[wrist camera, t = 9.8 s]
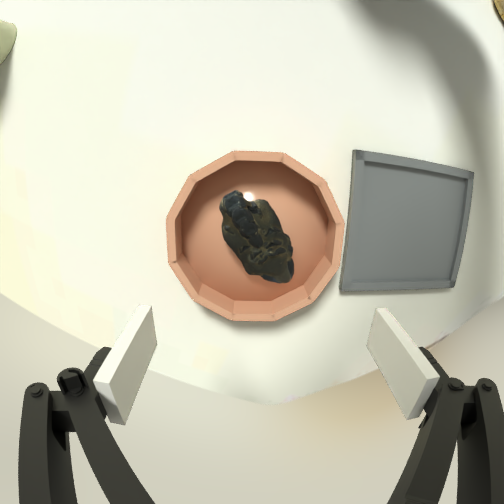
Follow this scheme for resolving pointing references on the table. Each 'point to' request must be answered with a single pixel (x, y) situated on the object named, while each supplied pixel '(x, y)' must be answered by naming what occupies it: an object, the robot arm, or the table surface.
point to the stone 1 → (257, 237)
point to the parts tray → (404, 223)
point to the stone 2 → (500, 7)
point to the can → (6, 38)
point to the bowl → (222, 256)
